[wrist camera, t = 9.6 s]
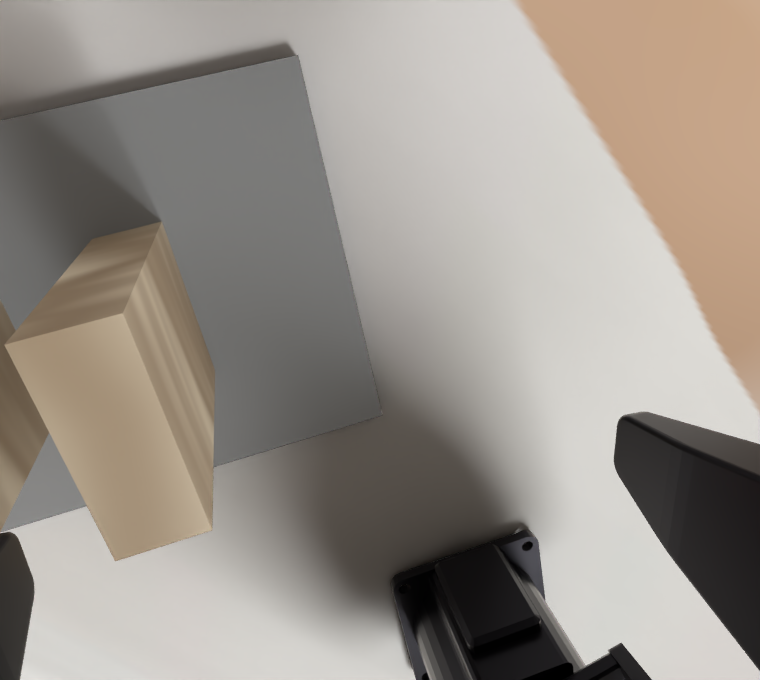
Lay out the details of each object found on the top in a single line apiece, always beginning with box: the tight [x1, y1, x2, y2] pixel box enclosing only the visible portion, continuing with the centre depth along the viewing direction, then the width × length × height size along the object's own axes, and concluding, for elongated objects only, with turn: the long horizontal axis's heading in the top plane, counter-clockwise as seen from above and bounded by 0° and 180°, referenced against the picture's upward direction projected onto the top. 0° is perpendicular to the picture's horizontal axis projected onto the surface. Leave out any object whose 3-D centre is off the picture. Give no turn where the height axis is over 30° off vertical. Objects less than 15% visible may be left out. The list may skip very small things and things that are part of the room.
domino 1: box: [5, 222, 215, 561], centre depth 15 cm, size 2×5×8 cm, turn 12°
